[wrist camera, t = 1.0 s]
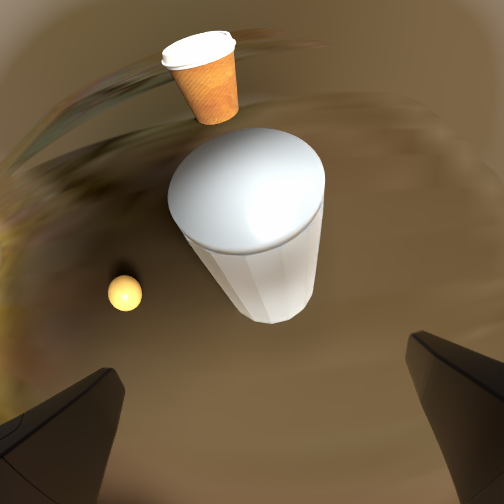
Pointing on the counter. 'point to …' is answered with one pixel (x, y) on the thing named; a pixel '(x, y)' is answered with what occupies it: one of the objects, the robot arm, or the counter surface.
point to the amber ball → (125, 293)
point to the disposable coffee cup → (205, 74)
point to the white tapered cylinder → (254, 217)
